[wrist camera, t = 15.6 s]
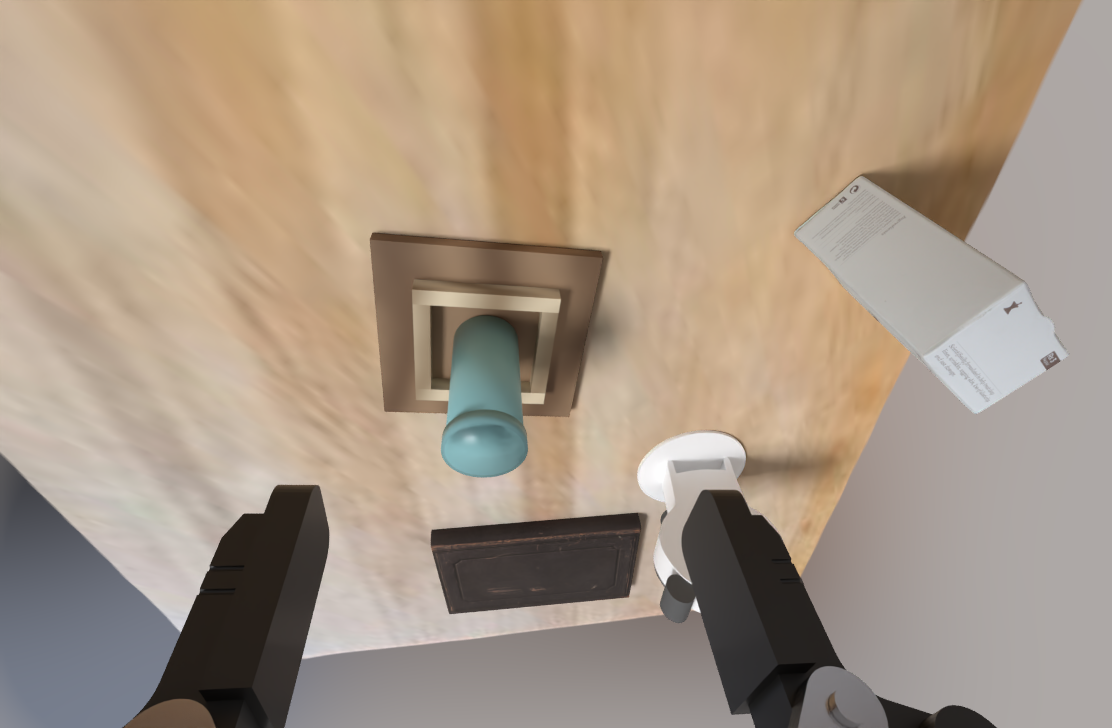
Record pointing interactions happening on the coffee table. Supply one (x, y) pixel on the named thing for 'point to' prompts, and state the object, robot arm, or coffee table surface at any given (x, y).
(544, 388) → the collar base
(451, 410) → the teal domed canister
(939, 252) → the skincare box
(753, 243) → the coffee table surface
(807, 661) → the robot arm
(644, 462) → the panda figurine
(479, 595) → the hardcover book
